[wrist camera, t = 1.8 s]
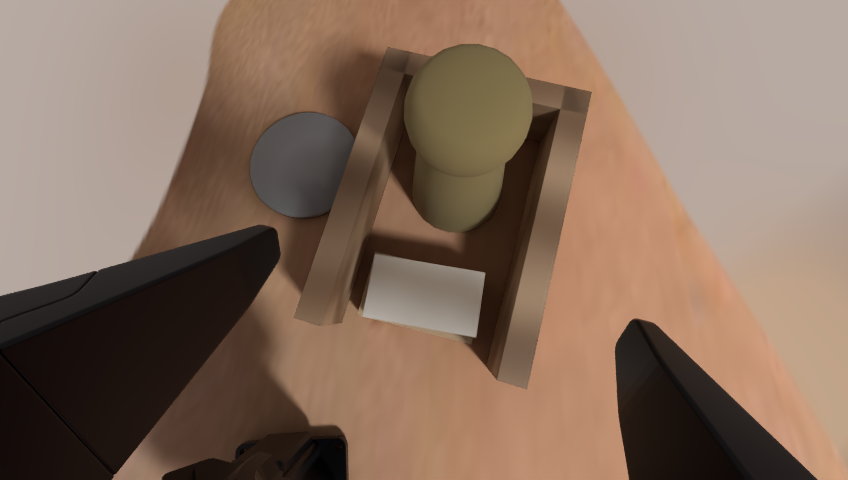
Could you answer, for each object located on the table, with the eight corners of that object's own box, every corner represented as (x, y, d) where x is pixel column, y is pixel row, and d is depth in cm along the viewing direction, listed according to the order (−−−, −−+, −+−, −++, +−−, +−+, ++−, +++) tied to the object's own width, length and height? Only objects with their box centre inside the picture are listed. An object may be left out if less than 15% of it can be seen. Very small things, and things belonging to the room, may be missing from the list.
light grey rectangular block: (469, 342, 22) (474, 347, 19) (362, 314, 22) (351, 315, 19) (483, 278, 22) (489, 273, 19) (379, 253, 23) (370, 244, 20)
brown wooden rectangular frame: (510, 373, 21) (526, 389, 17) (319, 315, 22) (293, 317, 18) (566, 127, 24) (591, 92, 20) (395, 88, 25) (387, 46, 21)
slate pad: (362, 213, 23) (361, 211, 23) (252, 222, 23) (248, 220, 23) (359, 111, 25) (357, 107, 24) (255, 121, 25) (251, 117, 24)
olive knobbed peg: (506, 154, 24) (564, 25, 13) (494, 240, 22) (545, 177, 12) (420, 141, 24) (405, 6, 13) (403, 224, 23) (372, 150, 12)
